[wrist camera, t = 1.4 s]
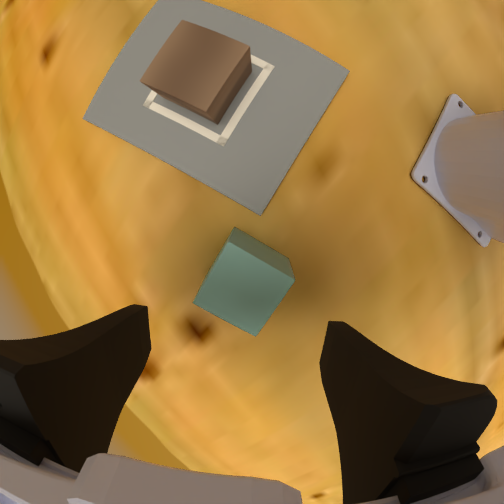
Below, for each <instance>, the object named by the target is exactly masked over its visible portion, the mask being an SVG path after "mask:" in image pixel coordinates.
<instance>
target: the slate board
mask: <svg viewBox="0 0 504 504" xmlns="http://www.w3.org/2000/svg"><path fill="white" fill-rule="evenodd" d="M181 20H185V21H188V22H191V23H194V24H197V25H199V26H202V27H205V28H208V29H210V30H213V31H215V32H218V33H220V34H223V35H225V36H228V37H230V38H233V39H235V40H237V41H239V42H242V43H244V44H246V45H248V46H250V52H251V64H252V72H251V74H250V75H249V77H248V78H247V80H246V81H245V83H244V84H243V86H242V87H241V89H240V90H239V92H238V93H237V95H236V96H235V98H234V100H233V101H232V103H231V104H230V106H229V107H228V109H227V111H226V112H225V114H224V115H223V117H222V119H221V120H220V122H219V124H218V125H217V124H215V123H214V122H212V121H210V120H208V119H206V118H204V117H202V116H200V115H198V114H196V113H194V112H192V111H190V110H188V109H186V108H184V107H182V106H179V105H177V104H175V103H173V102H171V101H169V100H167V99H165V98H163V97H161V96H160V95H159V94H157V93H156V92H154V91H153V90H151V89H150V88H149V87H147V86H146V85H144V84H143V83H141V82H140V79H141V78H142V76H143V75H144V73H145V71H146V70H147V68H148V67H149V65H150V64H151V62H152V61H153V59H154V58H155V56H156V55H157V53H158V52H159V50H160V49H161V47H162V46H163V44H164V43H165V42H166V40H167V39H168V37H169V36H170V35H171V33H172V32H173V31H174V29H175V28H176V27H177V25H178V24H179V23H180V21H181ZM349 72H350V71H349V70H347V69H346V68H344V67H343V66H341V65H339V64H338V63H336V62H335V61H333V60H331V59H330V58H328V57H326V56H325V55H323V54H321V53H319V52H318V51H316V50H314V49H312V48H311V47H309V46H307V45H305V44H303V43H301V42H299V41H298V40H296V39H294V38H292V37H290V36H288V35H286V34H284V33H282V32H280V31H277V30H275V29H273V28H271V27H269V26H267V25H264V24H262V23H260V22H258V21H255V20H253V19H251V18H248V17H246V16H243V15H241V14H238V13H236V12H233V11H230V10H228V9H225V8H222V7H219V6H216V5H213V4H210V3H207V2H204V1H201V0H158V1H157V2H156V4H155V5H154V6H153V7H152V9H151V10H150V11H149V12H148V14H147V15H146V16H145V18H144V19H143V20H142V22H141V23H140V24H139V26H138V27H137V28H136V30H135V31H134V33H133V34H132V35H131V37H130V38H129V40H128V41H127V43H126V44H125V46H124V47H123V49H122V50H121V52H120V53H119V55H118V56H117V58H116V59H115V61H114V63H113V64H112V66H111V67H110V69H109V71H108V72H107V74H106V76H105V78H104V79H103V81H102V83H101V85H100V86H99V88H98V90H97V92H96V94H95V95H94V97H93V99H92V101H91V103H90V105H89V107H88V109H87V111H86V113H85V115H84V117H83V119H84V120H86V121H88V122H90V123H92V124H94V125H96V126H98V127H100V128H102V129H104V130H106V131H108V132H110V133H112V134H113V135H115V136H117V137H119V138H121V139H123V140H125V141H127V142H129V143H131V144H133V145H134V146H136V147H138V148H140V149H142V150H144V151H146V152H148V153H150V154H151V155H153V156H155V157H157V158H159V159H161V160H162V161H164V162H166V163H168V164H170V165H172V166H173V167H175V168H177V169H179V170H181V171H183V172H184V173H186V174H188V175H190V176H192V177H193V178H195V179H197V180H199V181H201V182H202V183H204V184H206V185H208V186H209V187H211V188H213V189H215V190H216V191H218V192H220V193H222V194H223V195H225V196H227V197H229V198H230V199H232V200H234V201H236V202H237V203H239V204H241V205H243V206H244V207H246V208H248V209H249V210H251V211H253V212H255V213H256V214H258V215H260V216H261V214H262V213H263V211H264V209H265V208H266V206H267V204H268V203H269V201H270V199H271V198H272V196H273V194H274V193H275V191H276V190H277V188H278V186H279V185H280V183H281V181H282V180H283V178H284V176H285V175H286V173H287V172H288V170H289V168H290V167H291V165H292V163H293V162H294V160H295V159H296V157H297V155H298V154H299V152H300V150H301V149H302V147H303V146H304V144H305V142H306V141H307V139H308V137H309V136H310V134H311V133H312V131H313V129H314V128H315V126H316V124H317V123H318V121H319V120H320V118H321V116H322V115H323V113H324V112H325V110H326V108H327V107H328V105H329V104H330V102H331V100H332V99H333V97H334V96H335V94H336V92H337V91H338V89H339V88H340V86H341V84H342V83H343V81H344V80H345V78H346V76H347V75H348V73H349Z"/></svg>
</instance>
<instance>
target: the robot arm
mask: <svg viewBox="0 0 504 504" xmlns="http://www.w3.org/2000/svg"><path fill="white" fill-rule="evenodd" d="M458 103H459V104H460V107H459V105H458ZM411 176H412V179H413V180H414V181H415V182H416V183H417V184H418V185H420V186H421V187H422V188H423V189H424V190H425V191H426V192H427V193H429V194H430V195H431V196H432V197H433V198H434V199H435V200H436V201H437V202H438V203H439V204H441V205H442V206H443V207H444V208H445V209H446V210H447V211H448V212H449V213H450V214H451V215H452V216H453V217H454V218H455V219H456V220H457V221H458V222H459V223H460V224H461V225H462V226H463V227H464V228H465V229H466V230H467V231H468V232H469V233H470V235H471V236H472V237H473V238H474V239H475V240H476V241H477V242H478V243H479V244H480V245H481V246H483V247H486V246H487V245H488V244H489V242H490V240H491V238H493V239H495V240H498V241H500V242H503V243H504V111H498V112H491V113H485V114H479V115H476V114H475V113H474V112H473V111H472V110H471V109H470V108H469V106H468V105H467V104H466V103H465V102H464V101H463V100H462V99H461V98H460V97H459V96H458V95H456V94H451V95H450V96H449V98H448V100H447V102H446V104H445V106H444V109H443V111H442V113H441V115H440V117H439V119H438V121H437V123H436V125H435V128H434V130H433V132H432V134H431V136H430V138H429V140H428V142H427V144H426V145H425V147H424V149H423V151H422V153H421V155H420V157H419V159H418V161H417V163H416V164H415V166H414V168H413V170H412V173H411ZM423 176H424V177H425V182H424V183H423V182H422V177H423ZM478 232H479V235H478ZM150 351H151V340H150V330H149V319H148V307H147V306H142V305H135V304H133V305H130V306H127V307H125V308H122V309H120V310H118V311H116V312H113V313H111V314H109V315H107V316H104V317H102V318H100V319H98V320H95V321H93V322H90V323H88V324H85V325H83V326H80V327H78V328H75V329H72V330H69V331H65V332H61V333H58V334H54V335H49V336H43V337H38V338H32V339H23V340H0V504H302V498H301V493H300V491H299V490H297V489H295V488H293V487H290V486H288V485H286V484H284V483H282V482H280V481H277V480H270V479H263V478H256V477H246V476H232V475H221V474H212V473H204V472H197V471H190V470H184V469H178V468H173V467H167V466H163V465H158V464H153V463H149V462H145V461H141V460H137V459H132V458H129V457H125V456H119V455H112V454H107V452H108V448H109V445H110V441H111V438H112V435H113V432H114V429H115V426H116V423H117V421H118V418H119V415H120V413H121V410H122V408H123V406H124V404H125V402H126V401H127V399H128V397H129V395H130V393H131V391H132V390H133V388H134V386H135V384H136V382H137V380H138V379H139V377H140V375H141V373H142V371H143V369H144V367H145V365H146V362H147V360H148V357H149V354H150ZM319 363H320V371H321V378H322V384H323V387H324V391H325V394H326V397H327V401H328V404H329V407H330V411H331V414H332V417H333V421H334V424H335V428H336V433H337V439H338V446H339V453H340V462H341V472H342V487H343V504H504V446H502V447H500V448H498V449H496V450H494V451H492V452H490V453H488V454H486V455H484V456H483V457H482V458H481V459H480V460H479V458H478V456H477V455H476V453H478V451H479V450H480V447H479V445H478V444H477V442H476V441H477V440H478V439H479V437H480V436H481V434H482V433H483V432H484V430H485V429H486V427H487V426H488V424H489V423H490V421H491V420H492V418H493V416H494V414H495V411H496V408H497V400H496V398H495V396H494V395H493V394H492V393H491V391H490V390H489V389H488V388H487V387H486V386H485V385H481V384H474V383H467V382H461V381H457V380H452V379H449V378H445V377H441V376H438V375H435V374H432V373H429V372H427V371H424V370H421V369H419V368H417V367H414V366H412V365H410V364H408V363H406V362H404V361H402V360H400V359H398V358H397V357H395V356H393V355H392V354H390V353H388V352H387V351H385V350H383V349H382V348H380V347H379V346H377V345H376V344H375V343H373V342H372V341H370V340H369V339H368V338H366V337H365V336H363V335H362V334H361V333H359V332H358V331H357V330H355V329H354V328H352V327H351V326H350V325H348V324H347V323H345V322H340V321H329V322H328V327H327V331H326V336H325V341H324V345H323V350H322V354H321V358H320V362H319Z"/></svg>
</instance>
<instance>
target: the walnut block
mask: <svg viewBox="0 0 504 504" xmlns="http://www.w3.org/2000/svg"><path fill="white" fill-rule="evenodd" d="M251 72H252V64H251V52H250V46H248V45H246V44H244V43H242V42H239V41H237V40H235V39H233V38H230V37H228V36H225V35H223V34H220V33H218V32H215V31H213V30H210V29H208V28H205V27H202V26H199V25H197V24H194V23H191V22H188V21H185V20H181V21H180V23H179V24H178V25H177V27H176V28H175V29H174V31H173V32H172V33H171V35H170V36H169V37H168V39H167V40H166V42H165V43H164V44H163V46H162V47H161V49H160V50H159V52H158V53H157V55H156V56H155V58H154V59H153V61H152V62H151V64H150V65H149V67H148V68H147V70H146V71H145V73H144V75H143V76H142V78H141V79H140V82H141V83H143V84H144V85H146V86H147V87H149V88H150V89H151V90H153V91H154V92H156V93H157V94H159V95H160V96H161V97H163V98H165V99H167V100H169V101H171V102H173V103H175V104H177V105H179V106H182V107H184V108H186V109H188V110H190V111H192V112H194V113H196V114H198V115H200V116H202V117H204V118H206V119H208V120H210V121H212V122H214V123H215V124H217V125H218V124H219V122H220V120H221V119H222V117H223V115H224V114H225V112H226V111H227V109H228V107H229V106H230V104H231V103H232V101H233V100H234V98H235V96H236V95H237V93H238V92H239V90H240V89H241V87H242V86H243V84H244V83H245V81H246V80H247V78H248V77H249V75H250V74H251Z"/></svg>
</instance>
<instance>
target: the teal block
mask: <svg viewBox="0 0 504 504" xmlns="http://www.w3.org/2000/svg"><path fill="white" fill-rule="evenodd" d="M294 281H295V277H294V274H293V271H292V268H291V265H290V261H289V258H287V257H285V256H284V255H282V254H280V253H279V252H277V251H275V250H274V249H272V248H270V247H268V246H267V245H265V244H263V243H262V242H260V241H258V240H256V239H255V238H253V237H251V236H250V235H248V234H246V233H244V232H243V231H241V230H239V229H238V228H236V227H234V228H233V230H232V232H231V234H230V235H229V237H228V239H227V240H226V242H225V244H224V246H223V247H222V249H221V251H220V252H219V254H218V256H217V258H216V259H215V261H214V263H213V265H212V266H211V268H210V270H209V272H208V273H207V275H206V277H205V279H204V281H203V283H202V285H201V287H200V289H199V291H198V293H197V295H196V297H195V299H194V301H193V303H194V304H195V305H197V306H199V307H201V308H203V309H204V310H206V311H208V312H210V313H212V314H214V315H215V316H217V317H219V318H221V319H223V320H225V321H227V322H228V323H230V324H232V325H234V326H236V327H238V328H240V329H242V330H244V331H246V332H248V333H250V334H252V335H254V336H257V334H258V333H259V332H260V330H261V329H262V327H263V326H264V325H265V323H266V322H267V320H268V319H269V318H270V316H271V315H272V313H273V312H274V310H275V309H276V308H277V306H278V305H279V303H280V302H281V300H282V299H283V298H284V296H285V295H286V293H287V292H288V290H289V289H290V287H291V286H292V284H293V283H294Z"/></svg>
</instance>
